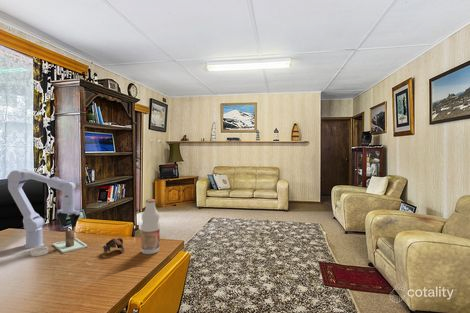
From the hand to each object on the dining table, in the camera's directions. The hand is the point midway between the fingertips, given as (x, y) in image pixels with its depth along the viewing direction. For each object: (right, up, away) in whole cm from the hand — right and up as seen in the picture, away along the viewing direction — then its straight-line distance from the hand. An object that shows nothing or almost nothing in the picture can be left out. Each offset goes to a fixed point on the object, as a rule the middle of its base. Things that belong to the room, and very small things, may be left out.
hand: (68, 226), depth 150 cm
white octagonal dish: (-5, -11, -15) cm, 19 cm away
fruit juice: (+51, -11, -10) cm, 53 cm away
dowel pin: (+4, -10, -5) cm, 11 cm away
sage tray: (+4, -11, -5) cm, 12 cm away
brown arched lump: (+32, -11, -11) cm, 36 cm away
